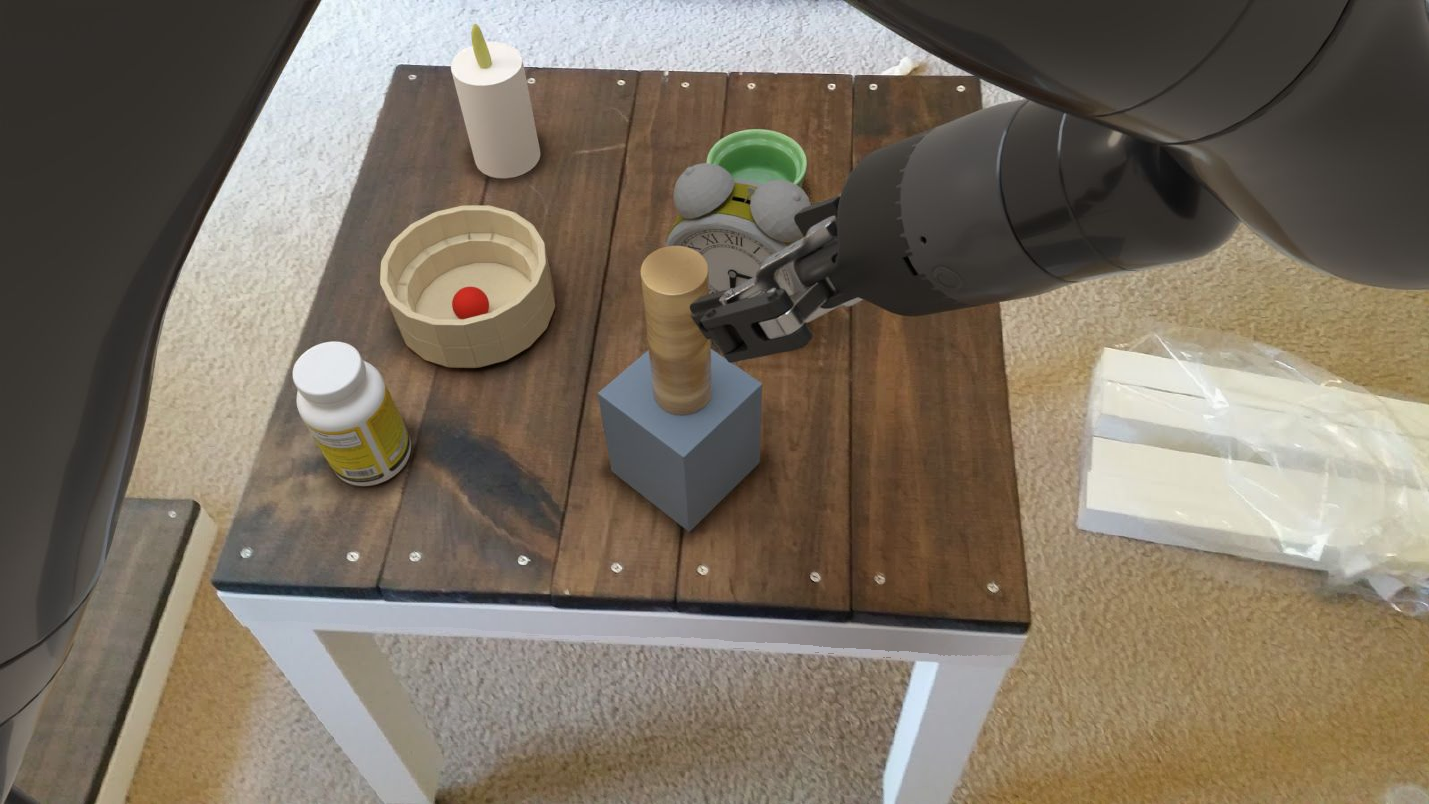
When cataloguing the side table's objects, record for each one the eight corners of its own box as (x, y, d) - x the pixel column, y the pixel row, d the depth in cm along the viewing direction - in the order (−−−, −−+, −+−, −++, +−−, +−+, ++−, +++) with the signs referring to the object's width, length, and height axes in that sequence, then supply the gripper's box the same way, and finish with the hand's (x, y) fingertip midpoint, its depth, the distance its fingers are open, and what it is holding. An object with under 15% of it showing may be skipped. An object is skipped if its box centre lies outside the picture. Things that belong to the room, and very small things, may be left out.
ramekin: (758, 152, 101) (759, 115, 97) (825, 200, 96) (828, 163, 93) (687, 195, 97) (685, 158, 94) (753, 247, 93) (753, 211, 90)
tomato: (464, 274, 87) (485, 297, 89) (438, 300, 87) (460, 322, 89) (480, 285, 85) (502, 308, 87) (455, 312, 85) (477, 334, 87)
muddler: (683, 425, 70) (675, 305, 60) (641, 393, 71) (626, 271, 62) (724, 389, 71) (722, 267, 62) (682, 359, 73) (673, 235, 63)
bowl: (470, 400, 84) (453, 352, 79) (367, 317, 89) (346, 268, 84) (588, 305, 89) (580, 256, 85) (484, 232, 95) (471, 182, 90)
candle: (541, 131, 103) (515, -7, 91) (539, 176, 99) (512, 38, 87) (477, 135, 103) (442, -3, 91) (472, 180, 99) (436, 42, 87)
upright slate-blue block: (689, 532, 76) (683, 457, 68) (611, 471, 79) (597, 393, 71) (760, 462, 80) (762, 383, 72) (682, 407, 83) (676, 324, 75)
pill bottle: (389, 409, 83) (347, 317, 74) (427, 459, 80) (388, 371, 71) (317, 450, 81) (265, 361, 72) (354, 503, 78) (304, 418, 69)
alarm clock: (665, 320, 88) (654, 185, 76) (694, 264, 92) (687, 127, 80) (798, 356, 86) (808, 222, 74) (821, 297, 90) (835, 160, 77)
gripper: (1027, 47, 44) (801, 145, 58) (819, 230, 38) (622, 291, 52) (1104, 197, 47) (869, 257, 60) (920, 393, 40) (705, 409, 54)
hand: (755, 272), depth 56 cm, fingers open, 8 cm apart
